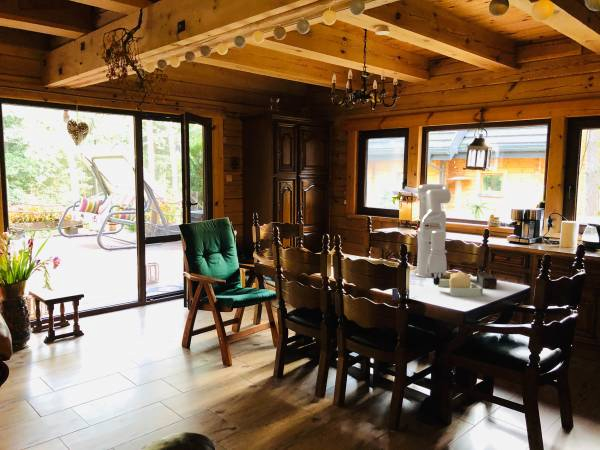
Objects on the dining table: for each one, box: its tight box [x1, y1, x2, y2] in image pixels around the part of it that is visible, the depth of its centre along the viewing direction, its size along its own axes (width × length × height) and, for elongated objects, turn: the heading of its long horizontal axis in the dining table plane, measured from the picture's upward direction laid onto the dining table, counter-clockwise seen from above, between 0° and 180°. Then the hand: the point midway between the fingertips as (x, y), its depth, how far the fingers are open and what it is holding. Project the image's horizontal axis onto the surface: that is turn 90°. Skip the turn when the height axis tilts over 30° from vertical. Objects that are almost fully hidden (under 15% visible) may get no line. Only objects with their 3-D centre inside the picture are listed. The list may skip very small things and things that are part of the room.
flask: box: [391, 288, 410, 301], centre depth 255 cm, size 9×3×11 cm, turn 96°
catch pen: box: [437, 278, 484, 297], centre depth 274 cm, size 22×17×4 cm
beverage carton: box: [476, 271, 498, 290], centre depth 288 cm, size 8×19×7 cm, turn 170°
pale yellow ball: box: [449, 271, 472, 289], centre depth 273 cm, size 11×12×11 cm
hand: (436, 284), depth 273 cm, fingers closed
